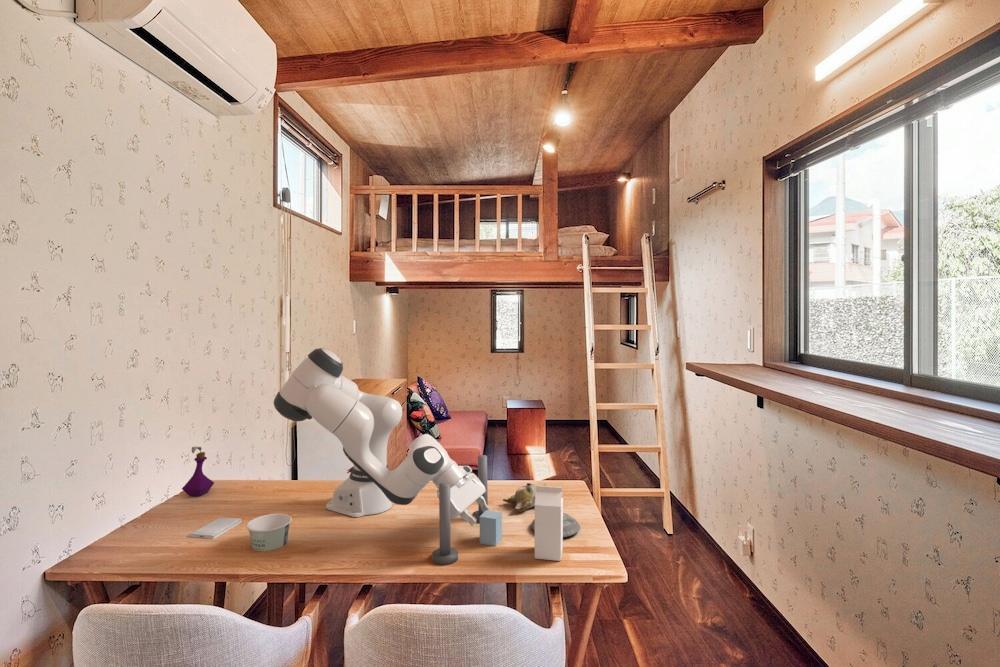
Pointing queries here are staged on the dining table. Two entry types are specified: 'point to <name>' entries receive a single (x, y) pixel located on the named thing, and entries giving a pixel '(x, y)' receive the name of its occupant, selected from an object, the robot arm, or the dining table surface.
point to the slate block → (490, 528)
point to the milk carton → (548, 523)
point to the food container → (269, 531)
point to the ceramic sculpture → (523, 497)
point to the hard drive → (216, 528)
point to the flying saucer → (566, 525)
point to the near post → (444, 529)
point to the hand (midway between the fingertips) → (481, 517)
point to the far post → (483, 478)
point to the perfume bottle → (198, 477)
